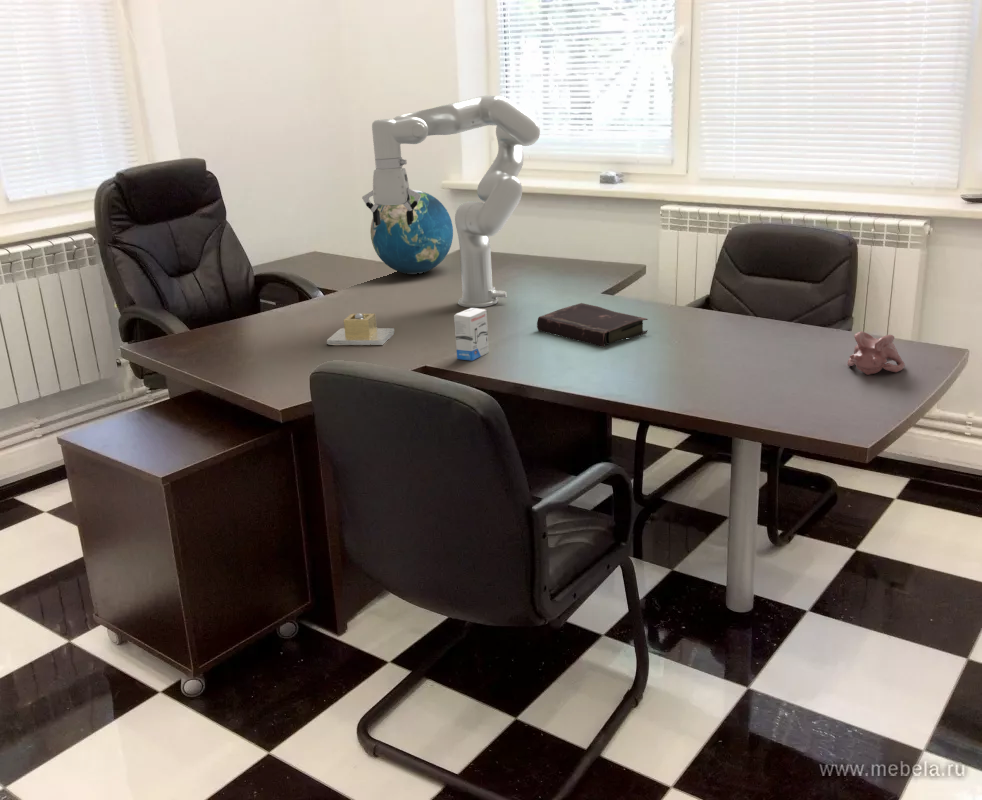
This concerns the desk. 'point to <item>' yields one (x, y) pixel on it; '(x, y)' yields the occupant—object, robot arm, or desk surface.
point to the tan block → (360, 326)
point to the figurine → (875, 354)
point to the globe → (413, 235)
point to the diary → (591, 324)
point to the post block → (375, 339)
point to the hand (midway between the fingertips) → (393, 224)
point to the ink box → (471, 334)
